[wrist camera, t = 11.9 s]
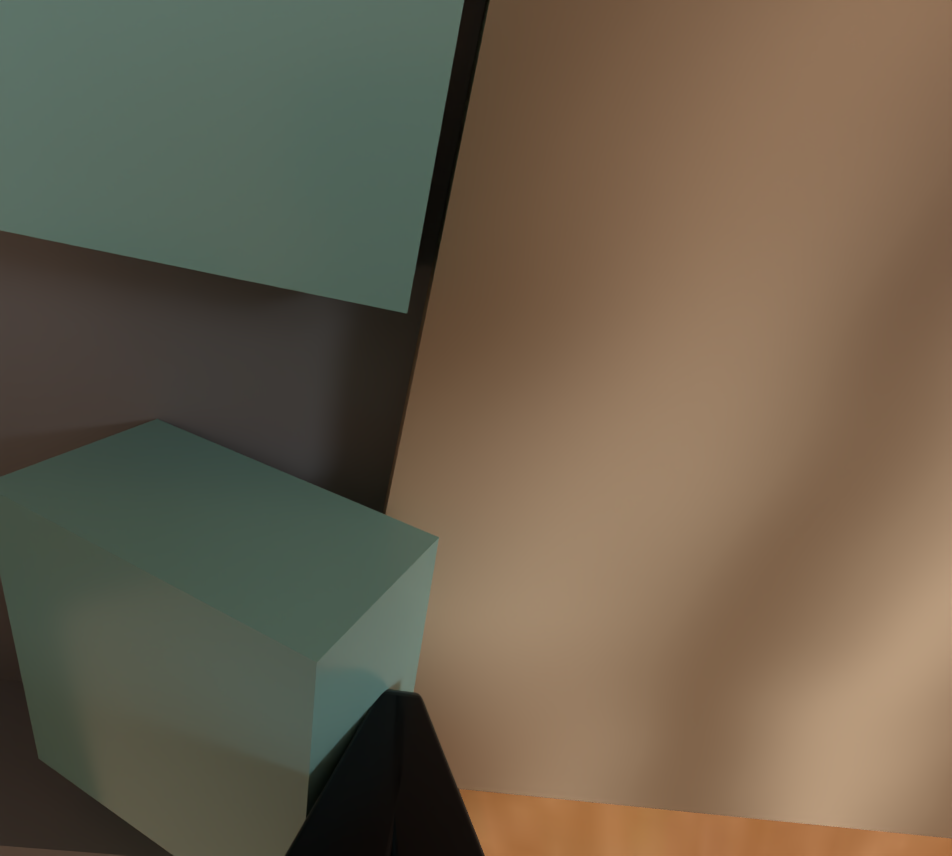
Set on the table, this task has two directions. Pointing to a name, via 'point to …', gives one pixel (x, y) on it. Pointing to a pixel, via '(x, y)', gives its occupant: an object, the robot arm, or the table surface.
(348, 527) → the tile
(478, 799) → the table surface
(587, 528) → the bench plate
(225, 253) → the tile
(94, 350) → the tray
